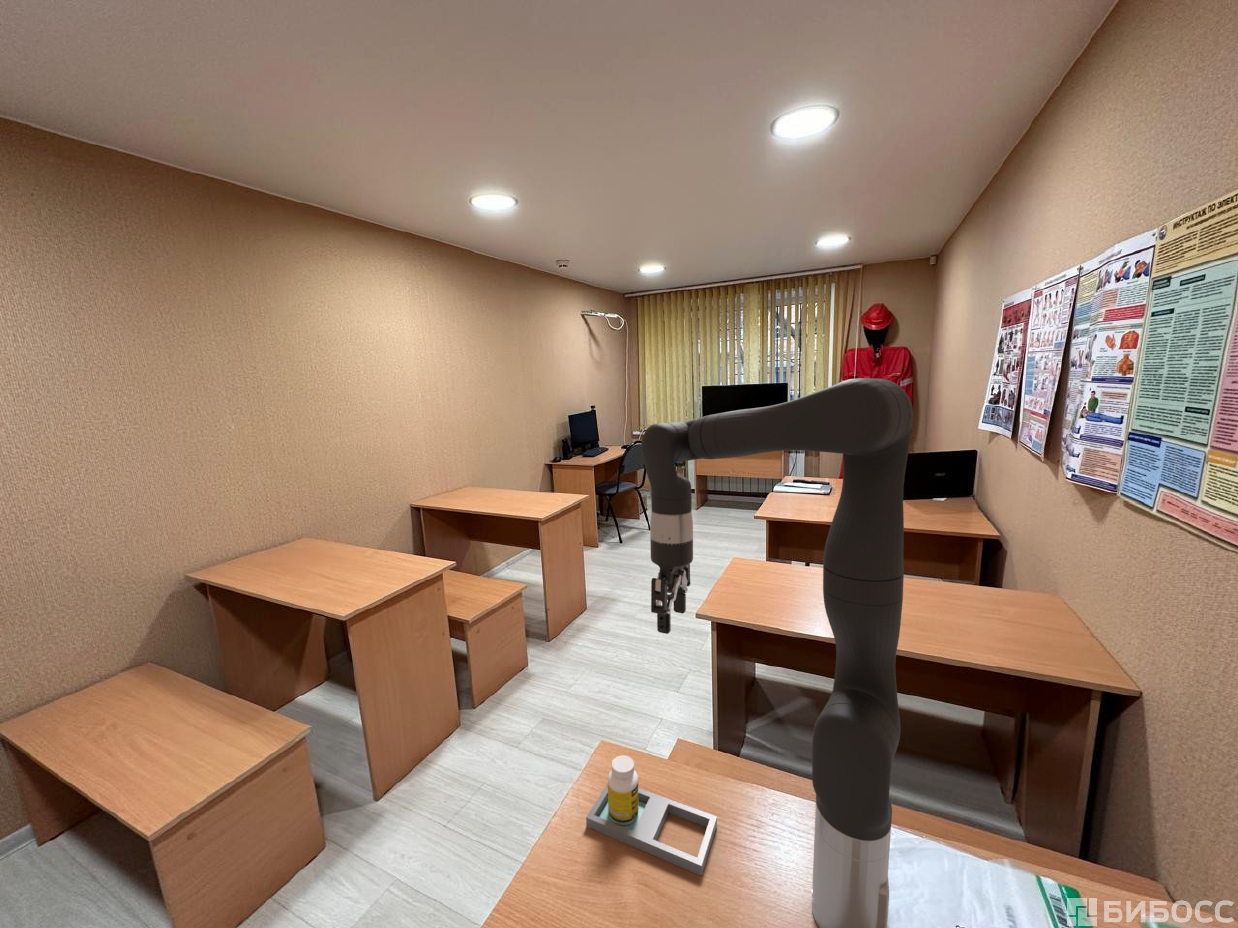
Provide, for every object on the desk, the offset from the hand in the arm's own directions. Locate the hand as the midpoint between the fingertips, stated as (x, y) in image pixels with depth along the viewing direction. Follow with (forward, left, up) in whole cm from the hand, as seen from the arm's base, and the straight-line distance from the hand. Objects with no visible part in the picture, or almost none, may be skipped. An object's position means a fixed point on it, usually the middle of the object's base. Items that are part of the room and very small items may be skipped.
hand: (672, 621), depth 86 cm
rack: (0, +10, -33) cm, 35 cm away
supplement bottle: (+6, +10, -33) cm, 35 cm away
